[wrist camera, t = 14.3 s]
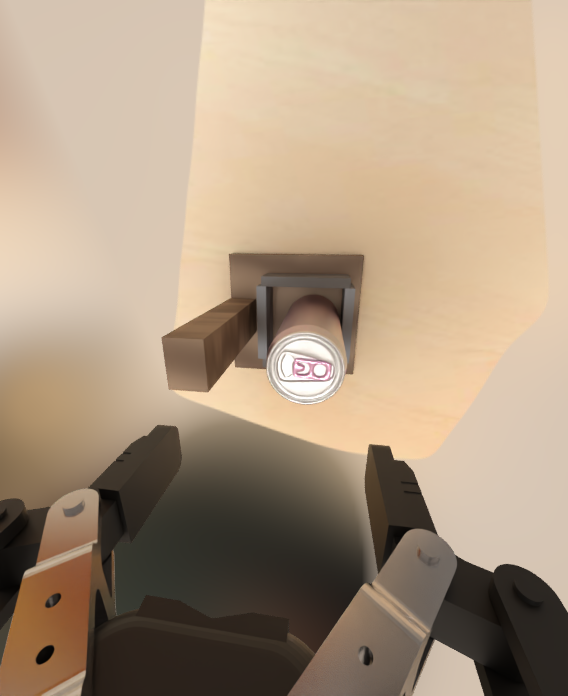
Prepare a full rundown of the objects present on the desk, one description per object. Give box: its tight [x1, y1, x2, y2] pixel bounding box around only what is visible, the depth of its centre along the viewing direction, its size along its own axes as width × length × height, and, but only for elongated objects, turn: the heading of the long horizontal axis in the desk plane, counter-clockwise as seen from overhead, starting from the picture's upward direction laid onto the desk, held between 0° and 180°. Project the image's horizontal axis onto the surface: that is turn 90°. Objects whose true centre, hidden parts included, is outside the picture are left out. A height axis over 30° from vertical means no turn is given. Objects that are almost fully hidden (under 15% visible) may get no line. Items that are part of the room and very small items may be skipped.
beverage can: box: [266, 295, 347, 404], centre depth 28 cm, size 6×6×15 cm
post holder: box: [162, 254, 364, 392], centre depth 28 cm, size 14×15×18 cm
